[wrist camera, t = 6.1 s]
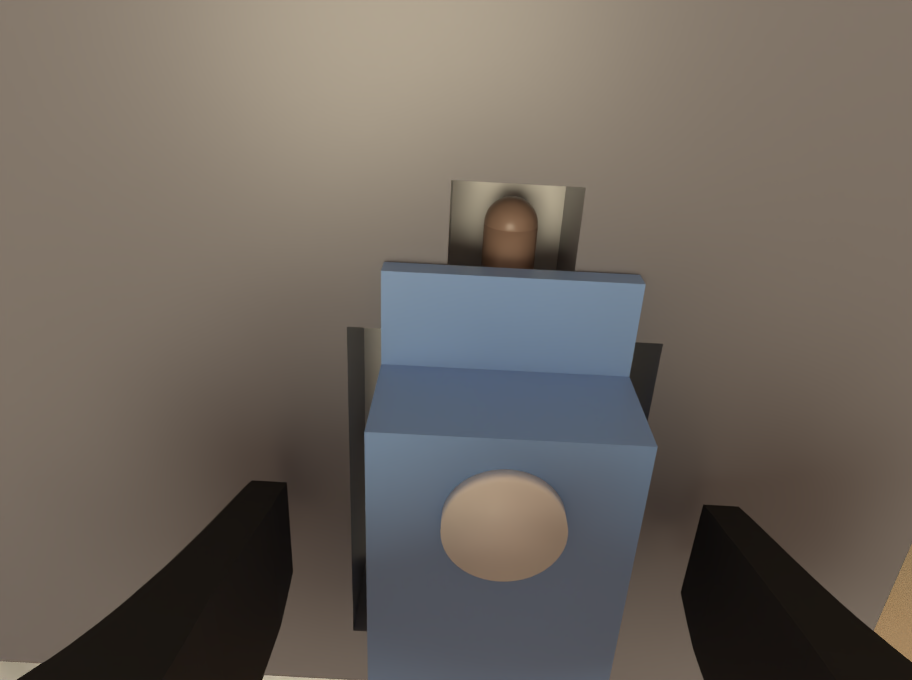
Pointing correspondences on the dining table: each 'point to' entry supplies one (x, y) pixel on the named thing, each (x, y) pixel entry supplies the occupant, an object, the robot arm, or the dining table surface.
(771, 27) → the grey flat block
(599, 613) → the servo
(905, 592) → the dining table surface
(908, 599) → the dining table surface
